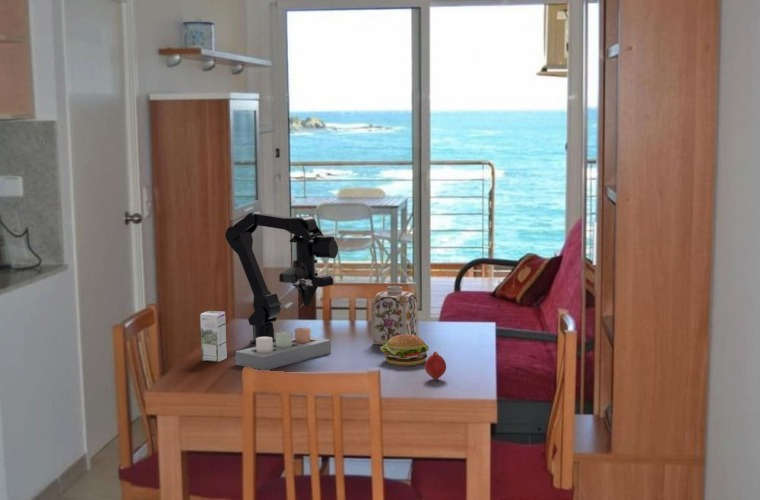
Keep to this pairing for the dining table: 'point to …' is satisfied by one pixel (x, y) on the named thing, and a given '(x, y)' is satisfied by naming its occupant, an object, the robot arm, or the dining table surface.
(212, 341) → the syrup box
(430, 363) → the onion
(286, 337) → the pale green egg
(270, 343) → the cream rounded tapered piece
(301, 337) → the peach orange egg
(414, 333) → the decorative jar
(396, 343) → the food
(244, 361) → the grey holder tray
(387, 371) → the dining table surface
